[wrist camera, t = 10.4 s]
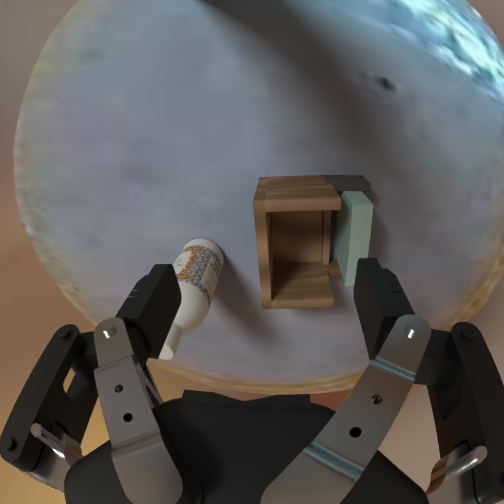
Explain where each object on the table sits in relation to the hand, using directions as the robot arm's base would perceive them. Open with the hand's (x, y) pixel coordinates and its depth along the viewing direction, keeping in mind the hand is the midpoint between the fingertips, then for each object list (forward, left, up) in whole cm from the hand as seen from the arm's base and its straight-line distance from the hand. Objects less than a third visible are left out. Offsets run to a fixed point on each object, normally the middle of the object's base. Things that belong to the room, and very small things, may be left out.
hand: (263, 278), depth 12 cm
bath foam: (+15, -12, -28) cm, 34 cm away
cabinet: (+10, +5, -28) cm, 30 cm away
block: (+9, +10, -28) cm, 31 cm away
